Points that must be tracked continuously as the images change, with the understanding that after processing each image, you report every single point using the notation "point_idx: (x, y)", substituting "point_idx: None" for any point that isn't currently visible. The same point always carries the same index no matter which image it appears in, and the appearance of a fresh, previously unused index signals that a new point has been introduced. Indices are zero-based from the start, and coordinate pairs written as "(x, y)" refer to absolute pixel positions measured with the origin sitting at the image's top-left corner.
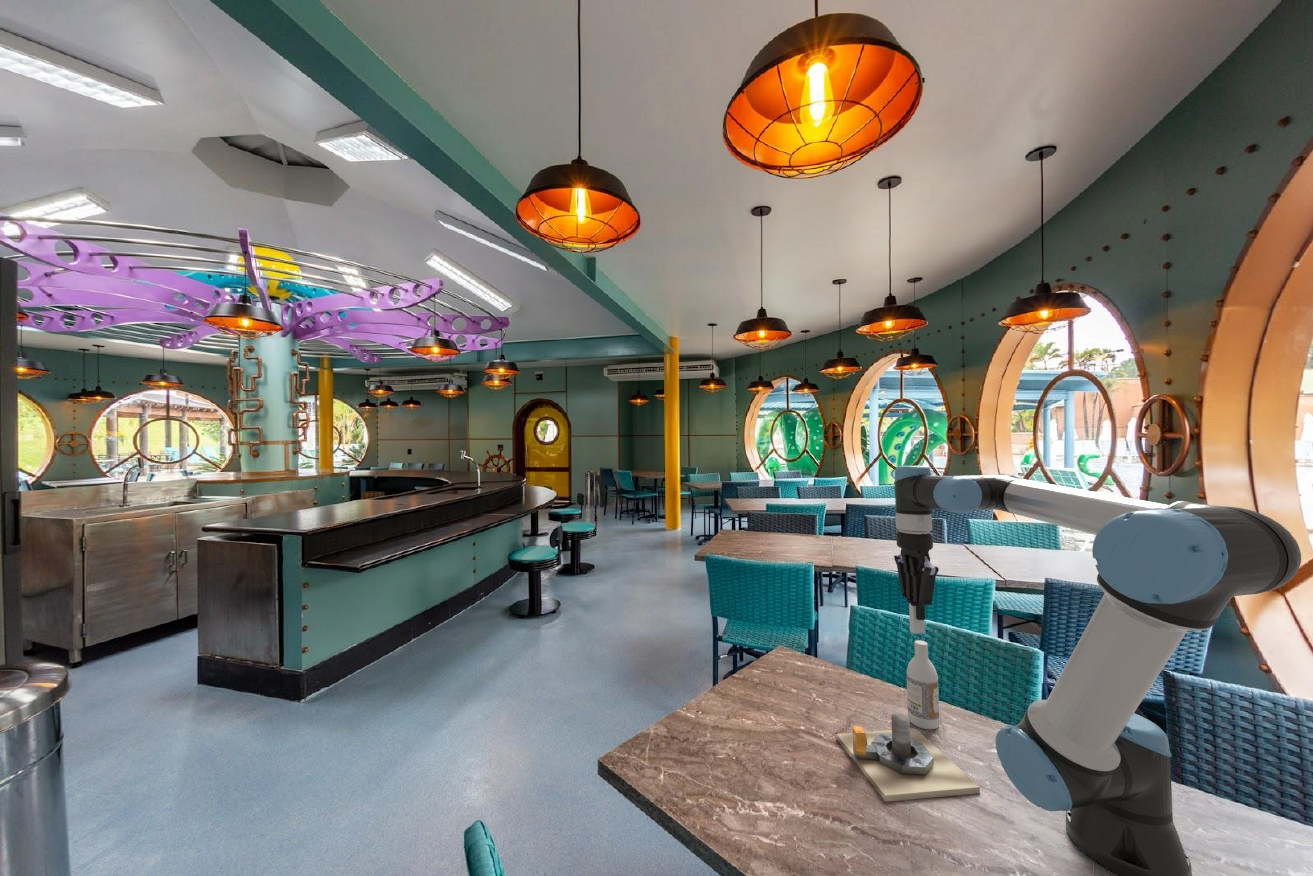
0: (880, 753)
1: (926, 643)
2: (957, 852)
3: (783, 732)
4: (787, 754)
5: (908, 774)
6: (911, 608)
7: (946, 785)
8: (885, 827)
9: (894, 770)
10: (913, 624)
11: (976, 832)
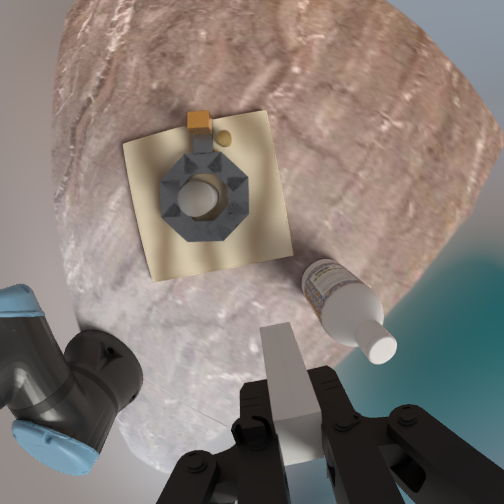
0: (189, 157)
1: (375, 362)
2: (65, 203)
3: (277, 40)
4: (220, 36)
5: None
6: (288, 399)
7: (148, 238)
8: (89, 134)
9: None
10: (265, 349)
11: (91, 238)
